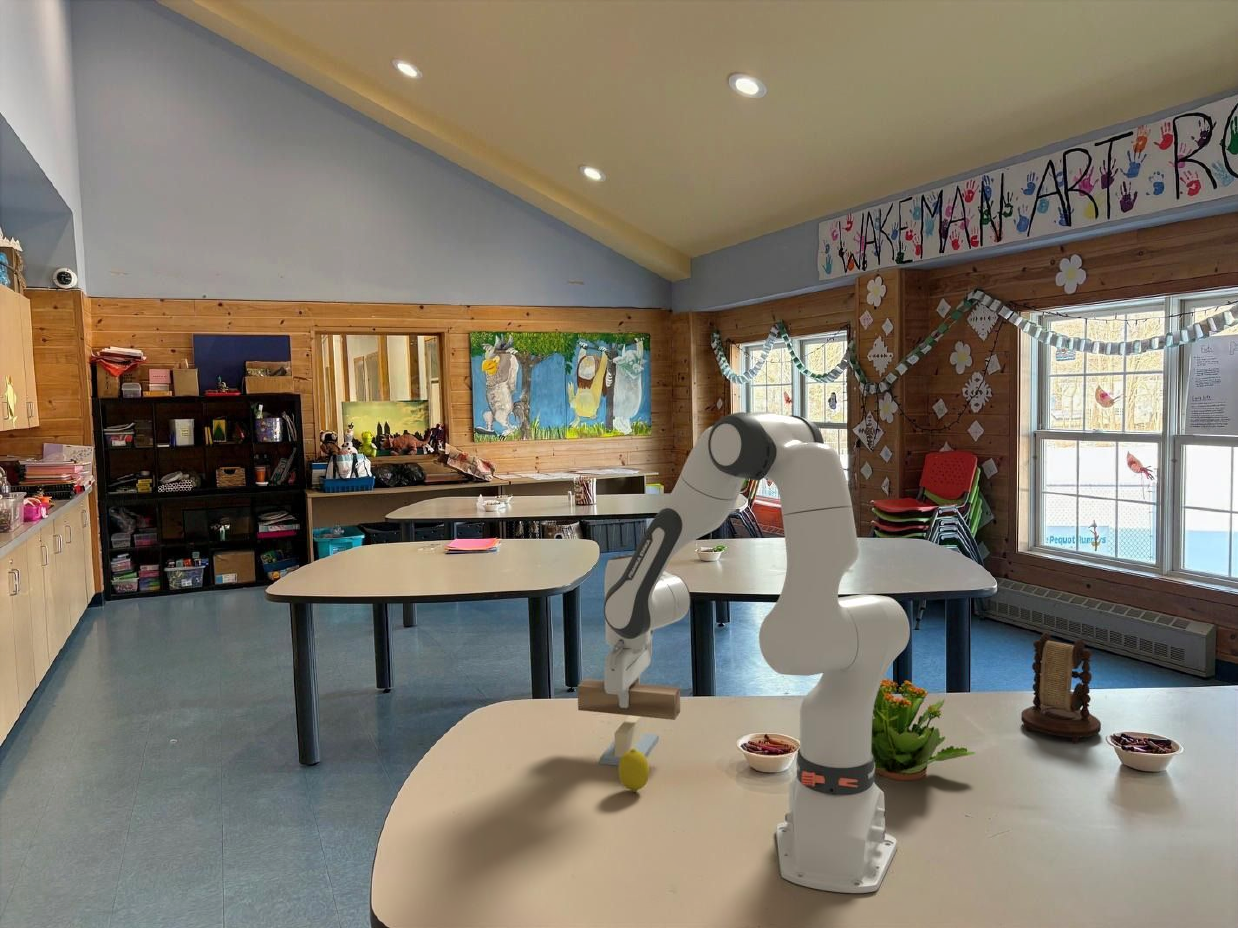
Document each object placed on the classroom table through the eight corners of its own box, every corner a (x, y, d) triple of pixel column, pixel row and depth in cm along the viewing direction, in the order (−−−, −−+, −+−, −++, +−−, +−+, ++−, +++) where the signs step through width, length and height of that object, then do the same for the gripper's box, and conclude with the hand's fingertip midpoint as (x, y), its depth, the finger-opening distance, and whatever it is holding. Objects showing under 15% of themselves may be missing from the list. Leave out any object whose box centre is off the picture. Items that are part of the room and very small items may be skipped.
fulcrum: (639, 767, 172) (638, 737, 172) (600, 763, 175) (599, 733, 174) (658, 740, 185) (658, 711, 185) (621, 736, 188) (621, 708, 187)
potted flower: (977, 757, 173) (978, 669, 172) (969, 811, 152) (970, 710, 150) (846, 739, 184) (846, 655, 182) (821, 786, 162) (821, 692, 161)
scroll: (1008, 730, 186) (1010, 636, 185) (1039, 711, 196) (1040, 622, 195) (1083, 750, 176) (1086, 650, 174) (1111, 730, 185) (1114, 635, 184)
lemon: (613, 795, 161) (612, 751, 160) (627, 782, 166) (626, 740, 165) (641, 801, 158) (640, 757, 158) (654, 788, 163) (654, 745, 162)
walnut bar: (674, 719, 174) (674, 694, 174) (578, 710, 180) (577, 685, 180) (680, 711, 178) (679, 687, 178) (585, 702, 185) (585, 678, 184)
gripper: (627, 649, 167) (628, 721, 168) (656, 621, 187) (657, 686, 188) (595, 647, 169) (597, 718, 170) (627, 619, 188) (629, 683, 190)
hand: (629, 701), depth 179 cm, fingers closed on walnut bar, 4 cm apart
